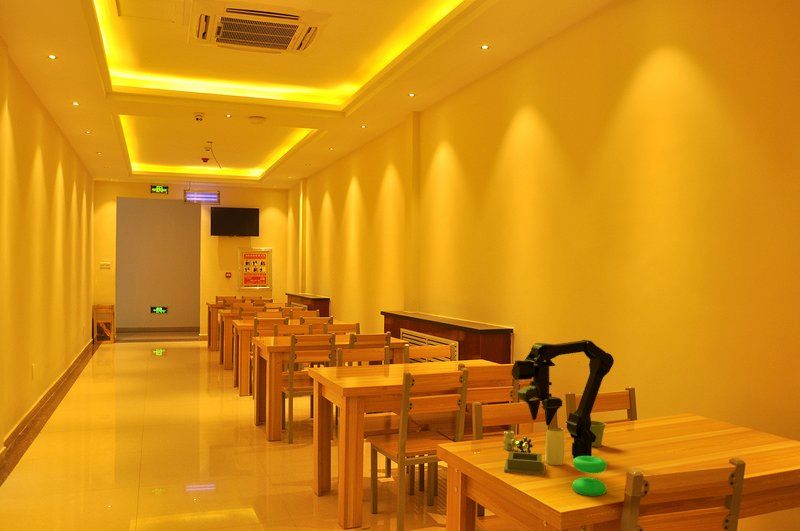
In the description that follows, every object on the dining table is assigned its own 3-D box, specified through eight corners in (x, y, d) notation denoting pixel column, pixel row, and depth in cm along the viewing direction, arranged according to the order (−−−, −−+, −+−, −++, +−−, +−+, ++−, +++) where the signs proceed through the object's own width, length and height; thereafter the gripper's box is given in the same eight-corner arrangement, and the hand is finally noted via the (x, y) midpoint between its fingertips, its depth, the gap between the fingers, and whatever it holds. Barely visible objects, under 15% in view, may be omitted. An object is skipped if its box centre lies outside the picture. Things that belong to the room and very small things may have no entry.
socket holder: (544, 465, 239) (544, 453, 239) (544, 475, 227) (544, 463, 227) (506, 461, 242) (506, 450, 242) (504, 472, 229) (504, 459, 229)
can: (542, 460, 245) (543, 426, 245) (560, 460, 245) (561, 427, 246) (548, 465, 238) (549, 431, 239) (566, 465, 239) (567, 431, 239)
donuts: (614, 461, 208) (588, 464, 204) (613, 495, 208) (587, 498, 204) (591, 453, 217) (566, 456, 213) (591, 485, 217) (565, 488, 213)
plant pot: (594, 449, 264) (594, 426, 264) (575, 443, 272) (576, 421, 272) (610, 446, 269) (611, 424, 269) (591, 441, 277) (592, 419, 277)
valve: (498, 449, 261) (518, 456, 250) (498, 431, 261) (518, 438, 250) (512, 447, 264) (532, 454, 253) (512, 430, 264) (533, 436, 253)
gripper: (508, 376, 253) (508, 418, 253) (535, 384, 235) (534, 429, 235) (535, 374, 257) (534, 416, 256) (563, 382, 239) (562, 427, 239)
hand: (540, 422), depth 247 cm, fingers open, 9 cm apart
